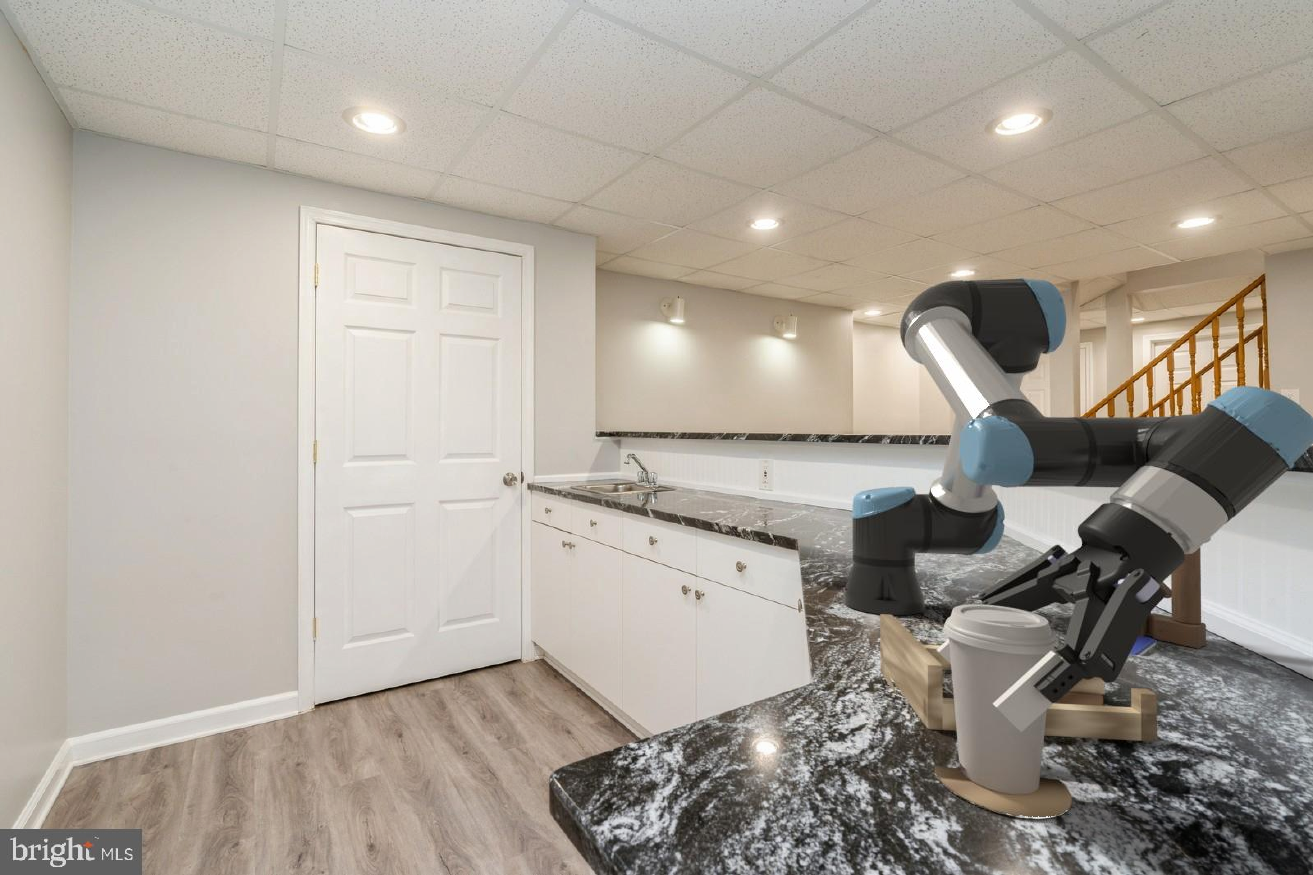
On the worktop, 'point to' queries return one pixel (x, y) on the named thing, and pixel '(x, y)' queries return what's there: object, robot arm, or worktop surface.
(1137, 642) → the hard drive
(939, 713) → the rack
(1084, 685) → the offcut top
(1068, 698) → the offcut mid
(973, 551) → the robot arm
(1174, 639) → the brown wooden block structure
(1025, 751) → the coffee cup
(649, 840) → the worktop surface
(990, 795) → the trivet
